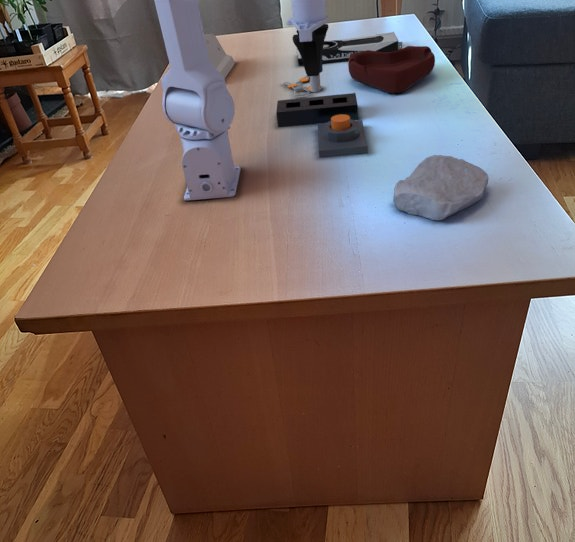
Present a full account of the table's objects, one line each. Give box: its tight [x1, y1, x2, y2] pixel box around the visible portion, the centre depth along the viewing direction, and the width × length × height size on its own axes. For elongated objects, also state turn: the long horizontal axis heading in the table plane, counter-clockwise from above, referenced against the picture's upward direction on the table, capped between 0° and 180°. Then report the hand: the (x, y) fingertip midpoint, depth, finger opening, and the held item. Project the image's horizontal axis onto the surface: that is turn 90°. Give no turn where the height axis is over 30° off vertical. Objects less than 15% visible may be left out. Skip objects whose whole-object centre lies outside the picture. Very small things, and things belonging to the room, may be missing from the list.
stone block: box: [392, 154, 489, 221], centre depth 76 cm, size 12×5×10 cm
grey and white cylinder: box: [309, 53, 324, 93], centre depth 99 cm, size 3×3×8 cm
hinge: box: [204, 33, 236, 79], centre depth 131 cm, size 17×5×10 cm, turn 172°
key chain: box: [283, 75, 323, 97], centre depth 119 cm, size 13×7×1 cm, turn 9°
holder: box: [275, 92, 359, 128], centre depth 104 cm, size 6×15×3 cm, turn 88°
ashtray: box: [347, 45, 436, 95], centre depth 114 cm, size 18×16×5 cm
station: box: [317, 119, 369, 159], centre depth 94 cm, size 11×8×3 cm
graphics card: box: [295, 31, 403, 67], centre depth 133 cm, size 10×3×25 cm
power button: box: [331, 114, 350, 131], centre depth 93 cm, size 3×3×2 cm
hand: (314, 72), depth 100 cm, fingers closed on grey and white cylinder, 3 cm apart
